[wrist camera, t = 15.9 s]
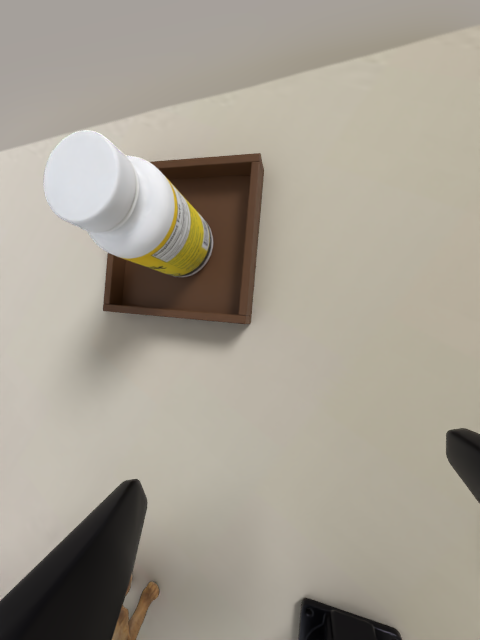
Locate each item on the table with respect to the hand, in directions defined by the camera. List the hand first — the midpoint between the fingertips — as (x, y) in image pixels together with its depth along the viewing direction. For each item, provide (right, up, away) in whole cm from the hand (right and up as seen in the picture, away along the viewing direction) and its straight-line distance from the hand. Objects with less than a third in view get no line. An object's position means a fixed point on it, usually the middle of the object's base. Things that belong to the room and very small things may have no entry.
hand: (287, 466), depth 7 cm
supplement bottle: (-6, +10, +13) cm, 18 cm away
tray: (-6, +11, +13) cm, 18 cm away
